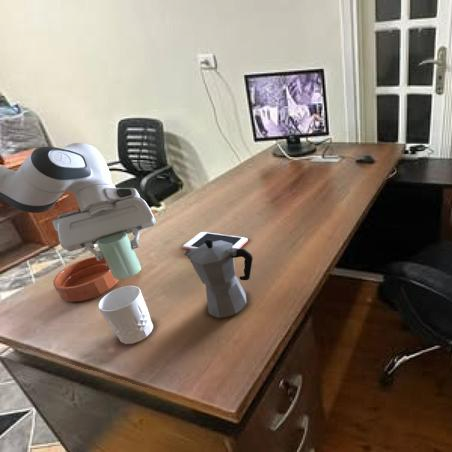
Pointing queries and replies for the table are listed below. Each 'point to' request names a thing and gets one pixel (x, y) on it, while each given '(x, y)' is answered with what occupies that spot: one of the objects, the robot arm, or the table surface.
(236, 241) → the cell phone
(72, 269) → the bowl
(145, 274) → the table surface
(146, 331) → the white cup
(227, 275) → the coffeepot
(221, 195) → the table surface
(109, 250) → the cup
